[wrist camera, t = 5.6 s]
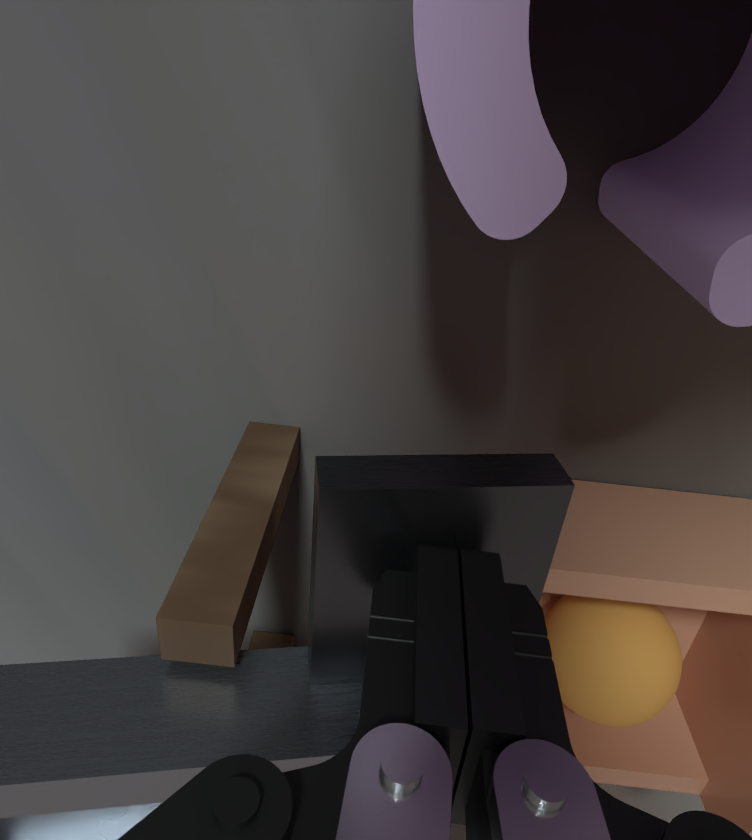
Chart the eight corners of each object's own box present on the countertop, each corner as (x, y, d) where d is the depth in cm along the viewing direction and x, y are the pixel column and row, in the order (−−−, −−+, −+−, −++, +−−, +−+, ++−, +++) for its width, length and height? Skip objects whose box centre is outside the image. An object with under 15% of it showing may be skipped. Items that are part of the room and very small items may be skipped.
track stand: (254, 652, 24) (190, 875, 17) (249, 422, 19) (155, 617, 12) (293, 656, 24) (244, 882, 17) (299, 427, 19) (232, 626, 12)
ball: (539, 624, 17) (699, 690, 16) (571, 539, 20) (705, 587, 19) (511, 716, 19) (649, 782, 18) (543, 626, 22) (662, 676, 21)
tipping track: (-27, 857, 16) (-83, 1011, 13) (-215, 462, 10) (-385, 611, 7) (457, 805, 18) (487, 930, 16) (553, 453, 12) (629, 566, 9)
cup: (421, 657, 23) (419, 829, 18) (455, 466, 19) (466, 621, 14) (680, 686, 23) (754, 869, 18) (775, 501, 19) (908, 671, 14)
